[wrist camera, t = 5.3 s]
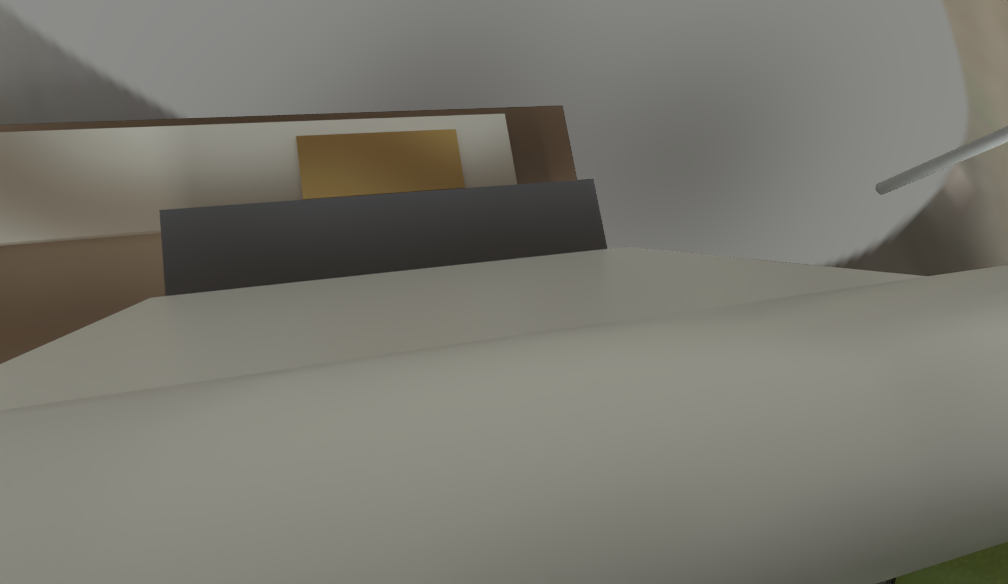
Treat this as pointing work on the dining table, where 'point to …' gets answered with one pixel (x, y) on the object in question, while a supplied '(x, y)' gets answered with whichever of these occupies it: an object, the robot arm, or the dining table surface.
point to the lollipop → (945, 160)
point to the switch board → (271, 205)
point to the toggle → (518, 428)
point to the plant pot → (965, 569)
